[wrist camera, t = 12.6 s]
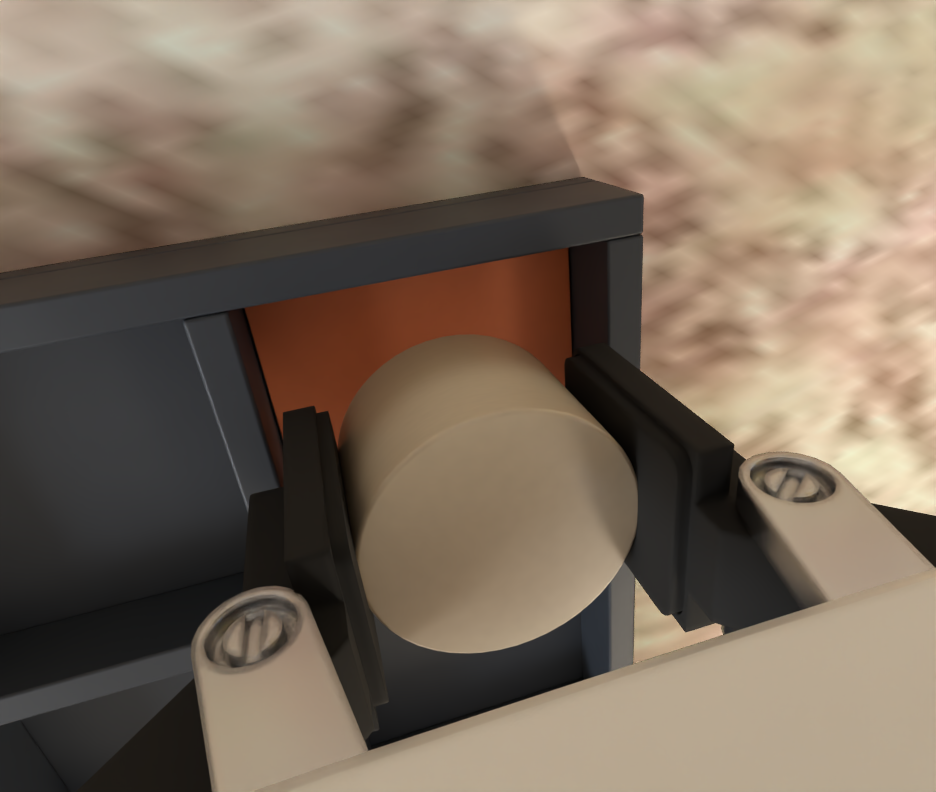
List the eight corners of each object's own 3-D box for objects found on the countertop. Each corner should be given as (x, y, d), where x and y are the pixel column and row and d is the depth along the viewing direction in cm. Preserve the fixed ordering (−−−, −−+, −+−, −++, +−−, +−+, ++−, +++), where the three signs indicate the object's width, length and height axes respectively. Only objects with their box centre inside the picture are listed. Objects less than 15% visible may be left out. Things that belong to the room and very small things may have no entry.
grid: (-883, 416, 9) (-1252, 522, 7) (584, 176, 13) (646, 193, 11) (-71, 1043, 19) (-114, 1160, 17) (597, 798, 23) (629, 869, 21)
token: (312, 361, 10) (323, 453, 8) (560, 311, 11) (644, 378, 9) (362, 562, 12) (384, 688, 10) (568, 507, 13) (639, 609, 11)
